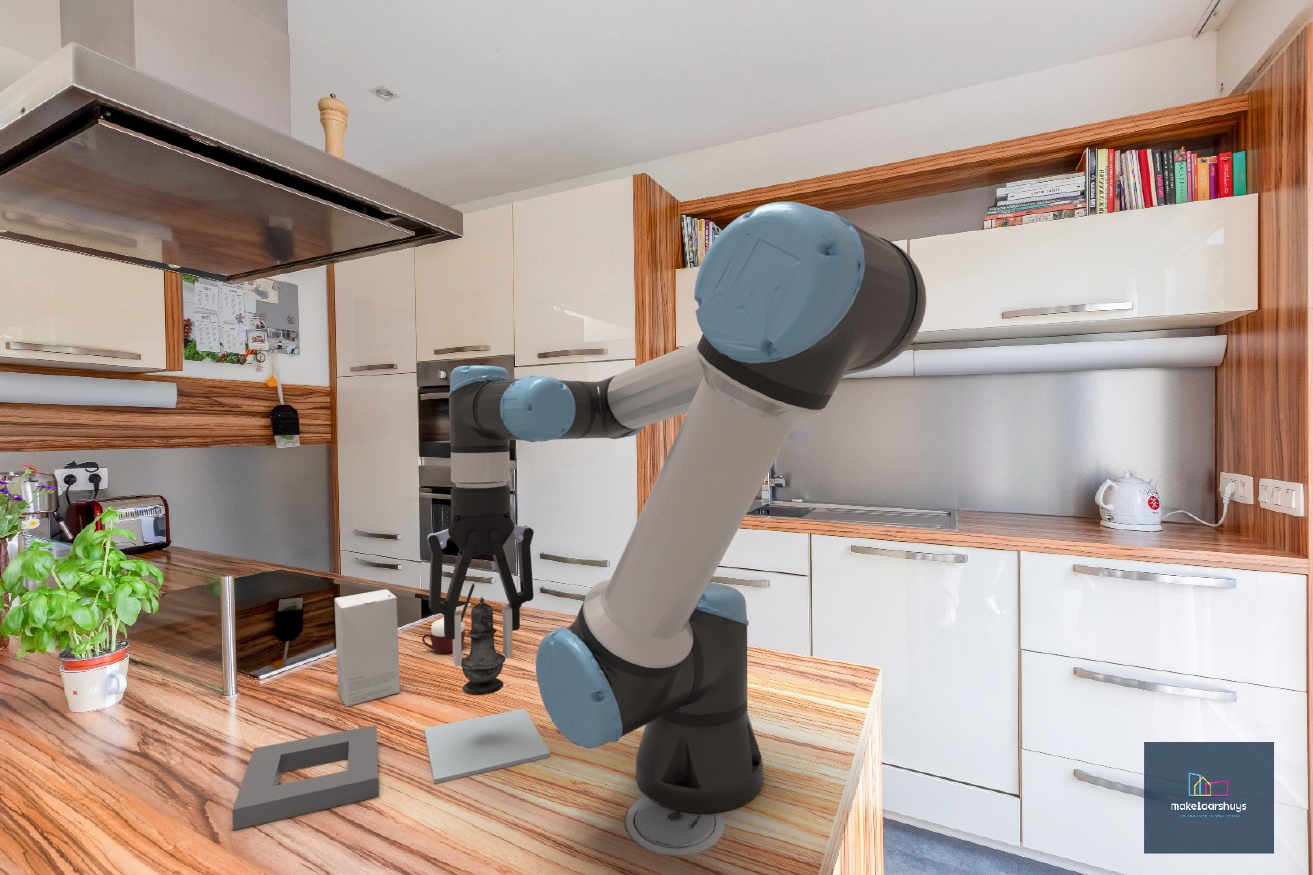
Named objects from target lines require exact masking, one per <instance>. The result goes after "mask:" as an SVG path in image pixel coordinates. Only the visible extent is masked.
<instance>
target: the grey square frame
mask: <svg viewBox="0 0 1313 875" xmlns="http://www.w3.org/2000/svg"><path fill="white" fill-rule="evenodd" d="M377 727H378V726H377V724H375V725H370V726H365V727H364V726H363V727H359V728H353V729H349V730H345V731H344V730H343V731H338V732H333V733H328V734H323V735H316V736H312V737H311V736H310V737H306V738H301V739H294V740H290V741H285V742H279V743H275V744H270V745H264V746H259V747H254V748H253V750H252V753H251V756H250V758H249V762H248V765H247V768H246V770H245V772H244V776H243V779H242V781H241V784H240V786H239V787H240V788H239V790H238V793H237V796H236V799H235V802H234V804H233V807H232V809H231V810H232V831H236V830H242V829H246V828H249V827H254V826H259V825H262V824H266V823H272V822H275V821H279V820H280V821H281V820H283V819H288V818H294V817H297V816H302V815H305V814H309V813H315V812H318V811H323V810H327V809H330V808H336V807H339V806H344V805H345V806H346V805H349V804H353V803H357V802H362V801H366V800H371V799H374V798H379V796H380V795H379V792H380V791H379V790H380V789H379V764H378V762H379V757H378V755H379V754H378V731H377V730H378V729H377ZM342 760H347V770H343V771H342V770H341V771H337V772H334V773H328V774H324V775H320V776H319V775H318V776H315V777H310V778H304V779H300V780H295V781H291V782H285V783H282V784H279V782H280V778H281V775H282V773H284V772H289V771H295V770H300V769H304V768H309V767H315V766H318V765H324V764H329V763H335V762H339V761H342Z"/></svg>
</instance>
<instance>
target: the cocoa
mask: <svg viewBox="0 0 1313 875" xmlns="http://www.w3.org/2000/svg"><path fill="white" fill-rule="evenodd" d="M474 589H475V583H472V584H471V586H470V589H469V591H468V594H467V596H466V599H465V600H466V601H465V603H464V605H463V609H462V610H461V613H460V615H461V647H462V646H463V645H464V642H465V636H466V623H465V620H464V617H465V614H466V612H467V609H468V607H469V606H468V605H469V603H470V601H471V597H472V595H473V591H474ZM427 637H428V638H430V641H431V644H429V643H427V642H426V640H425V638H427ZM421 639H422V640H421V641H422V643H423V644H424V646H426V647H427V648H429V649H432V650H435V651H436V652H438V653H439V654H453V639H452V640H447V639H446V637H445V635H444V616H443V617H441V618H440V619H437V620H435V621H433V622H432V623H431V630H430V634H429V633H426V634H423V636H422V638H421Z"/></svg>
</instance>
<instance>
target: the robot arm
mask: <svg viewBox="0 0 1313 875" xmlns="http://www.w3.org/2000/svg"><path fill="white" fill-rule="evenodd" d="M695 281H696V282H695V286H694V292H693V294H694V297H693V298H694V301H696V302H697V305H698V308H697V309H695V315H696V321H697V323H698V326H699V328H700V331H701V332H702V334H701V338H700V340H697V341H694V342H692V343H690V344H687V345H685V346H683V347H681V348H678V349H674V350H673V351H670V352H667V353H665V354H663V355H661V356H658V357H655V358H654V359H650V360H648V361H646V362H644V363H641V364H639V365H636V366H634V367H632V368H628V369H627V370H625V371H624V370H623V371H622V372H620V373H618V374H615V375H612V376H610V377H608V378H604V379H602V380H598V381H583V380H582V381H581V380H564V379H558V378H555V377H552V376H551V377H550V376H534V375H529V376H525V377H521V378H513V379H510V377H509V371H508V370H507V369H506V368H504V367H502V366H496V365H461V366H457V367H455V368H453V370H451V372H450V377H449V381H450V382H449V384H450V385H449V392H448V395H447V396H448V402H449V404H448V405H449V406H448V407H449V435H450V437H449V439H450V440H449V441H450V482H452V483H453V484H455V486H453V487H452V488H451V489H450V513H451V515H450V516H451V517H450V521H449V524H448V525H447V528H446V529H443V530H441V531H438V532H429V533H428V534H427V535H426V540H427V543H428V546H429V548H430V568H429V586H428V588H429V592H428V606H429V610H430V612H431V613H433V614H436V613H437V614H441V615H443V617H444V635H445V637H446V639H447V640H452V639H453V652H452V662H453V663H454V666H455V668H457V667H461V666H462V659H463V658H462V655H463V654H462V646H461V612H460V610H459V609H457V607H458V602H459V600H460V596H461V594H462V593H461V592H462V591H463V590H462V589H463V585H464V583H465V579H466V576H467V572H468V570H469V566H470V564H471V562H472V558H475V557H479V556H482V555H485V556H492V557H493V560H494V563H495V566H496V568H497V572H498V576H499V578H500V581H501V584H502V586H503V589H504V593H505V596H506V599H507V602H508V603H504V604H502V608H501V610H502V616H501V617H502V654H503V655H504V656H505V658H506V659H513V658H514V657H513V652H514V651H513V631H519V630H520V627H521V623H520V622H521V620H520V619H521V618H520V617H521V613H520V610H521V607H522V605H523V604H525V603H527V602H531V601H532V600H533V599H534V583H533V582H534V581H533V569H532V568H533V566H532V552H531V550H532V549H531V545H532V541H533V537H534V533H535V530H534V529H533V528H531V527H530V526H528V525H523V526H521V525H517V524H515V523H514V521H513V519H512V517H511V488H510V486H509V485H508V484H507V482H509V481H510V480H511V469H510V468H511V467H510V466H511V464H510V461H511V460H510V459H511V458H510V441H511V440H512V441H525V442H529V443H535V442H548V441H553V440H573V439H574V440H579V439H611V440H618V439H624V438H628V437H633V436H636V435H638V434H639V433H640V432H641V431H642V430H643V428H645V427H646V426H649V425H652V424H655V423H658V422H661V421H665V420H668V419H673V418H674V417H678V416H682V415H685V416H684V418H683V420H682V423H681V425H680V427H679V430H678V432H677V434H676V436H675V438H674V439H673V443H672V445H671V447H670V449H669V451H668V454H667V455H666V458H665V460H664V462H663V465H662V466H661V469H660V471H659V473H658V475H657V476H656V480H655V482H654V484H653V486H652V488H651V491H650V493H649V496H648V497H647V499H646V501H645V503H644V506H643V508H642V510H641V512H640V514H639V517H638V519H637V521H636V522H635V525H634V527H633V530H632V531H631V535H630V536H629V538H628V540H627V543H626V545H625V548H624V550H623V552H622V554H621V556H620V558H619V560H618V563H617V565H616V567H615V569H614V571H613V572H612V576H611V578H610V579H607V580H603V581H601V582H599V583H597V584H595V585H594V586H593V587H591V588H590V590H589V591H588V593H587V594H586V595H585V598H584V600H583V602H582V605H581V607H580V608H579V610H578V613H577V615H576V618H575V619H574V621H573V622H572V623H571V624H570V625H568V626H567V627H564V626H560V627H555V629H554V630H553V631H551V632H549V633H547V634H546V635H545V636H544V637H543V638H542V639H541V641H540V643H539V645H538V648H537V651H536V655H535V656H536V657H535V672H536V675H535V676H536V681H537V686H538V690H539V693H540V697H541V701H542V702H543V705H544V708H545V710H546V712H547V715H548V716H549V718H550V720H551V722H552V723H553V724H554V726H555V727H556V729H557V731H559V732H560V734H561V735H563V736H564V738H565V739H566V740H568V741H569V742H570V743H571V744H573V745H575V746H577V747H582V748H583V749H588V750H589V749H596V748H599V747H602V746H604V745H606V744H610V743H614V742H618V741H620V740H621V738H622V737H625V736H626V735H628V734H630V733H632V732H634V731H636V730H638V729H640V728H642V727H643V726H644V730H643V733H642V735H641V739H640V742H639V745H638V749H637V753H636V758H635V778H636V779H635V780H636V783H637V786H638V787H639V789H640V790H641V791H642V793H644V795H645V796H646V797H648V798H649V799H651V800H652V801H653V802H655V803H658V804H659V805H661V806H664V807H667V808H669V809H672V810H677V811H682V812H686V813H687V812H688V813H695V814H696V813H697V814H698V813H700V814H703V813H704V814H705V813H708V814H711V813H717V812H724V811H729V810H732V809H736V808H738V807H740V806H742V805H745V804H746V803H748V802H750V801H751V800H753V799H754V798H755V797H756V796H757V794H758V793H759V792H760V790H762V787H763V782H764V766H763V758H762V754H761V750H760V747H759V744H758V742H757V738H756V734H755V732H754V729H753V726H752V722H751V720H750V716H749V714H748V713H749V712H748V626H749V624H750V623H749V620H748V615H747V602H746V598H745V596H744V595H743V594H742V593H741V591H739V590H738V589H737V588H735V587H732V586H730V585H726V584H722V583H716V582H711V581H712V578H713V576H714V575H715V572H716V571H717V569H718V567H719V565H720V564H721V561H722V560H723V557H724V556H725V554H726V552H727V551H728V549H729V547H730V545H731V543H732V541H733V539H734V537H735V536H736V534H737V532H738V530H739V528H740V527H741V525H742V523H743V521H744V519H745V517H746V515H747V514H748V511H750V510H749V509H750V508H751V506H752V505H753V502H754V500H756V497H757V496H758V493H759V491H760V490H761V487H762V486H763V485H764V484H763V483H765V482H764V481H765V480H766V478H767V477H768V475H769V473H770V471H771V469H772V467H773V465H774V464H775V462H776V460H777V458H778V456H779V454H780V453H781V451H782V449H783V447H784V445H785V444H786V441H787V440H788V437H789V436H790V434H791V432H792V430H793V428H794V427H795V424H796V423H797V421H798V420H801V419H802V418H806V417H809V416H813V415H816V414H820V413H822V412H824V410H825V409H826V406H827V405H828V403H829V401H830V399H831V398H832V396H833V394H834V393H835V391H836V390H837V388H838V386H839V384H840V382H841V381H842V378H843V377H844V376H848V375H851V374H857V373H861V372H866V371H869V370H870V371H871V370H874V369H878V368H879V367H882V366H884V365H886V364H888V363H890V362H891V361H893V360H895V359H896V358H897V357H899V356H900V355H901V354H902V353H903V352H904V351H906V349H908V347H909V346H910V345H911V343H912V342H913V341H914V339H915V338H916V337H917V334H918V333H919V331H920V329H921V326H922V324H923V322H924V317H925V315H926V309H927V293H926V292H927V291H926V290H927V289H926V285H925V282H924V279H923V275H922V273H921V271H920V269H919V267H918V266H917V264H916V263H915V261H914V260H913V258H912V257H911V256H910V254H908V253H907V252H906V251H905V250H904V249H902V248H901V247H900V246H898V245H897V244H895V243H893V242H891V241H889V240H887V239H885V238H883V237H880V236H877V235H875V234H873V233H871V232H869V231H867V230H866V229H864V228H862V227H861V226H858V225H857V224H855V223H853V222H850V220H849V221H848V220H847V219H846V218H843V217H842V216H839V215H837V214H836V213H835V212H834V211H827V210H825V209H821V208H818V207H816V206H811V205H807V204H804V203H801V202H794V201H775V202H770V203H767V204H763V205H760V206H758V207H756V208H754V209H752V210H750V211H749V212H746V213H743V214H742V215H740V216H738V217H737V218H735V219H734V220H733V221H732V222H730V223H729V224H728V225H727V226H726V227H725V228H724V229H723V230H722V231H721V232H720V233H719V234H718V235H717V237H716V238H715V239H714V240H713V242H712V243H711V245H710V247H709V248H708V249H707V251H706V253H705V256H703V259H702V261H701V264H700V267H699V269H698V272H697V275H696V280H695ZM512 534H513V535H514V540H515V541H516V542H517V556H518V558H517V559H518V571H519V586H520V587H519V588H520V591H517V588H516V585H515V582H514V579H513V575H512V572H511V569H510V566H509V564H508V560H507V557H506V552H505V549H504V546H505V544H506V543H507V541H508V540H509V538H510V537H511V535H512ZM450 538H451V540H452V541H453V542H454V544H456V546H457V547H458V548H459V550H458V554H457V558H456V562H455V565H454V568H453V573H452V576H451V579H450V582H449V585H448V586H449V587H448V589H447V592H446V596H445V599H444V601H442V579H443V562H444V561H443V559H444V557H443V556H444V555H443V549H445V548H446V547H447V541H448V539H450Z"/></svg>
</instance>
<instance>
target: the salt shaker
mask: <svg viewBox="0 0 1313 875" xmlns="http://www.w3.org/2000/svg"><path fill="white" fill-rule="evenodd" d="M484 601H485V599H484V598H483V596H481V598H480V599H479V603H477V604H475V605H474V606H473V607H472V609H471V611H470V616H471V617H470V618H471V619H470V621H471V622H470V623H471V625H470V626H471V627H470V628H471V629H470V630H469V631H468V632H467V633H468V636H470V651H469V654H468V655H466V656H465V657H463V658H462V666H460V667H461V669H462V673H463V675H464V677H465V678H466V679H468V681H467V682H466V683H464V685H463V686H462V688H461V690H462V692H463V693H464V694H466V695H469V696H477V697H478V696H486V695H491V694H495V693H497V692H498V691H500V690H501V689H503V688H504V682H503V681H502V680H501V679H499V678H498V677H499V675H500V674H501V673H502V671H503V668H504V663H505V662H506V659H507V658H506V656H505V655H504V654H503V653H500V652H497V651H496V648H495V634H496V633H497V629H496V628H495V627H494V609H493V607H492V605H491V604H489V603H486V602H484Z"/></svg>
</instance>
